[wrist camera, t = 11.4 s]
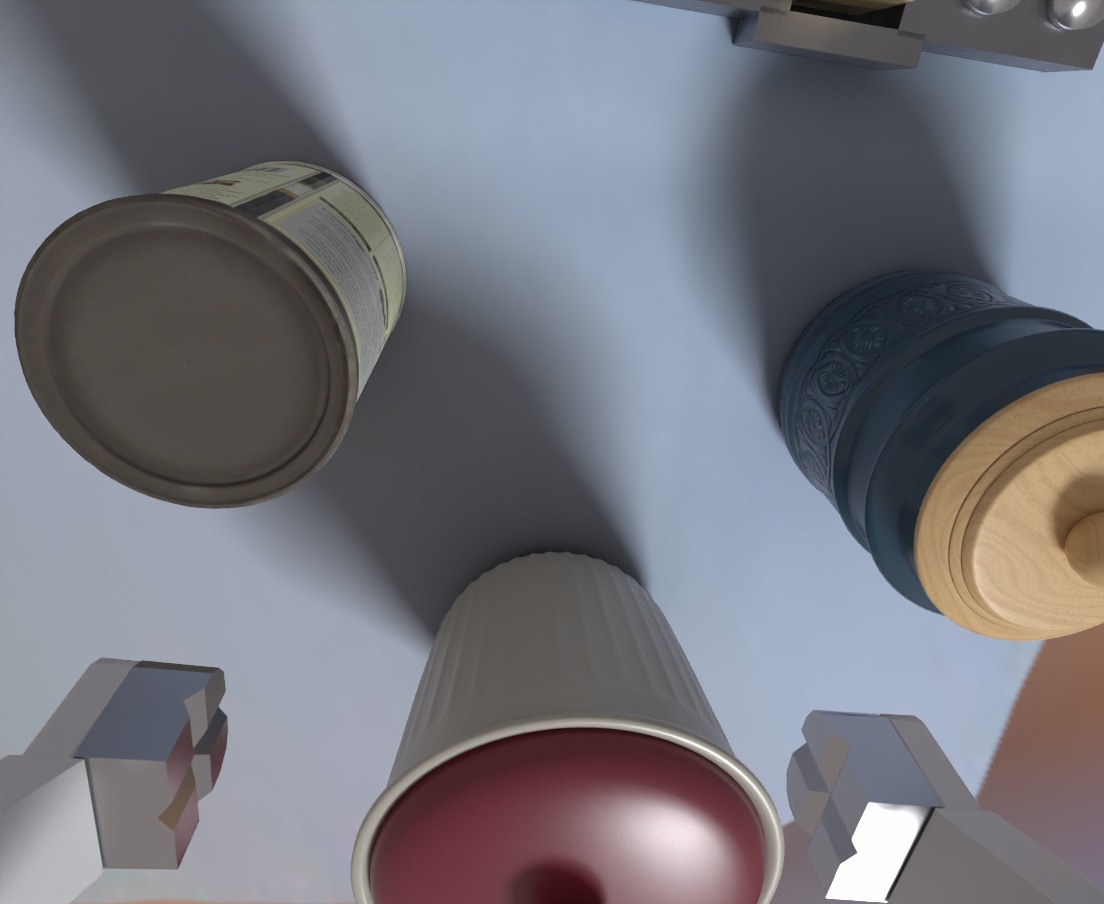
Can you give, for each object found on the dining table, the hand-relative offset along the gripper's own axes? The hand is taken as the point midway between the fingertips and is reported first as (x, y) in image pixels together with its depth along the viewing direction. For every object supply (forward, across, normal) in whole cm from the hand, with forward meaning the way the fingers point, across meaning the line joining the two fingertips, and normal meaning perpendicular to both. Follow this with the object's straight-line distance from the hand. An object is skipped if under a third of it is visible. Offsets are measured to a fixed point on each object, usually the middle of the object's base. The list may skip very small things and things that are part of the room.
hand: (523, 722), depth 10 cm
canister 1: (+29, -5, +21) cm, 36 cm away
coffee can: (+29, +10, +1) cm, 31 cm away
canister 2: (+29, -21, +3) cm, 36 cm away
